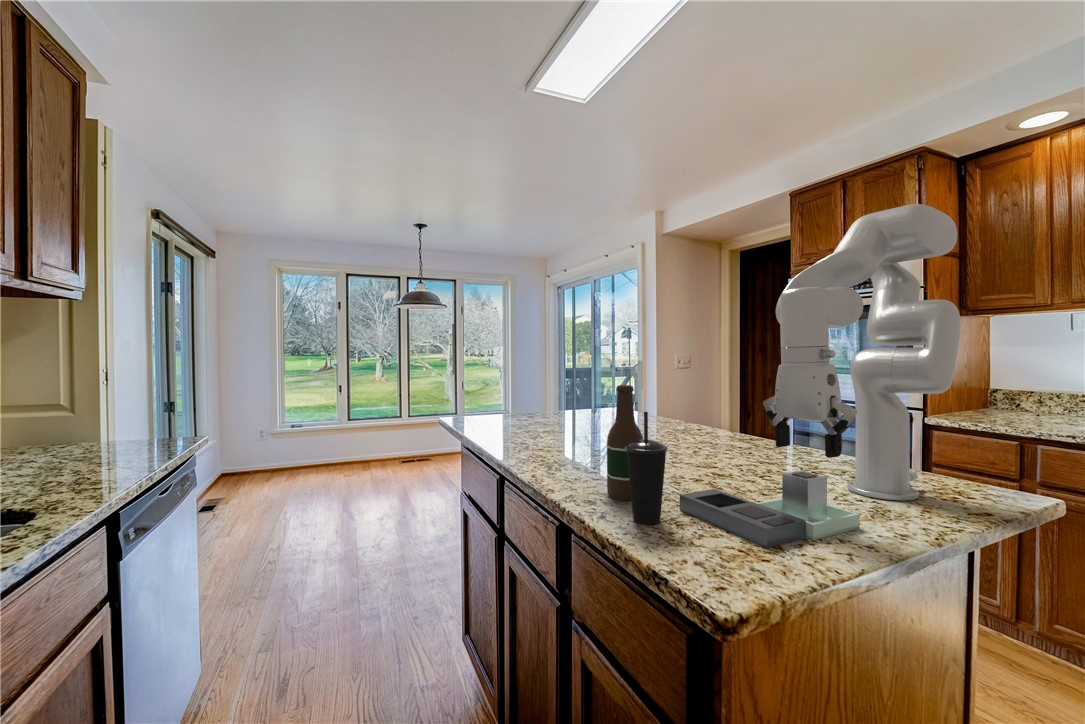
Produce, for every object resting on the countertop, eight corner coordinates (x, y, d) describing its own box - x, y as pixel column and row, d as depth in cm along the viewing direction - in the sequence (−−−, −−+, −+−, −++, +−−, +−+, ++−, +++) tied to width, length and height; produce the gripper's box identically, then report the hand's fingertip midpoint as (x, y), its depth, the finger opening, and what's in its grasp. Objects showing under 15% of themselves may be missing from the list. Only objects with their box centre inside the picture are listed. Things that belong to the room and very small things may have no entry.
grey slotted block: (714, 503, 94) (714, 488, 94) (805, 538, 76) (805, 519, 76) (679, 509, 90) (679, 494, 90) (767, 548, 72) (766, 528, 72)
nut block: (801, 513, 86) (801, 469, 86) (826, 521, 82) (826, 475, 82) (782, 517, 84) (782, 472, 84) (807, 526, 80) (807, 479, 80)
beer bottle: (644, 503, 95) (643, 386, 94) (606, 500, 96) (605, 386, 96) (643, 492, 102) (643, 384, 102) (608, 490, 104) (607, 384, 104)
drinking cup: (640, 510, 90) (639, 408, 90) (675, 520, 84) (675, 411, 84) (617, 520, 84) (616, 412, 84) (653, 531, 79) (652, 415, 79)
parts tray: (796, 508, 91) (796, 495, 91) (859, 528, 80) (859, 514, 80) (752, 517, 86) (752, 503, 86) (813, 540, 75) (813, 524, 75)
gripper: (868, 356, 76) (870, 458, 77) (777, 355, 92) (779, 440, 93) (839, 358, 73) (841, 464, 74) (749, 357, 89) (752, 445, 90)
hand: (806, 451), depth 83 cm, fingers open, 9 cm apart
